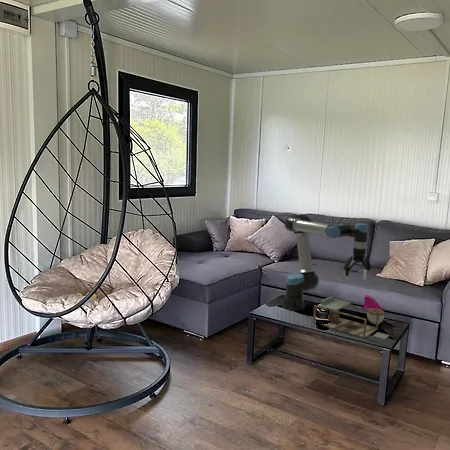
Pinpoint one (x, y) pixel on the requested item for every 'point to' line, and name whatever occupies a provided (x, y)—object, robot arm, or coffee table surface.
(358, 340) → the coffee table surface
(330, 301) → the cover
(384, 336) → the tile
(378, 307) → the bracket
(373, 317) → the lidded jar
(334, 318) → the block
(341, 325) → the open box frame
